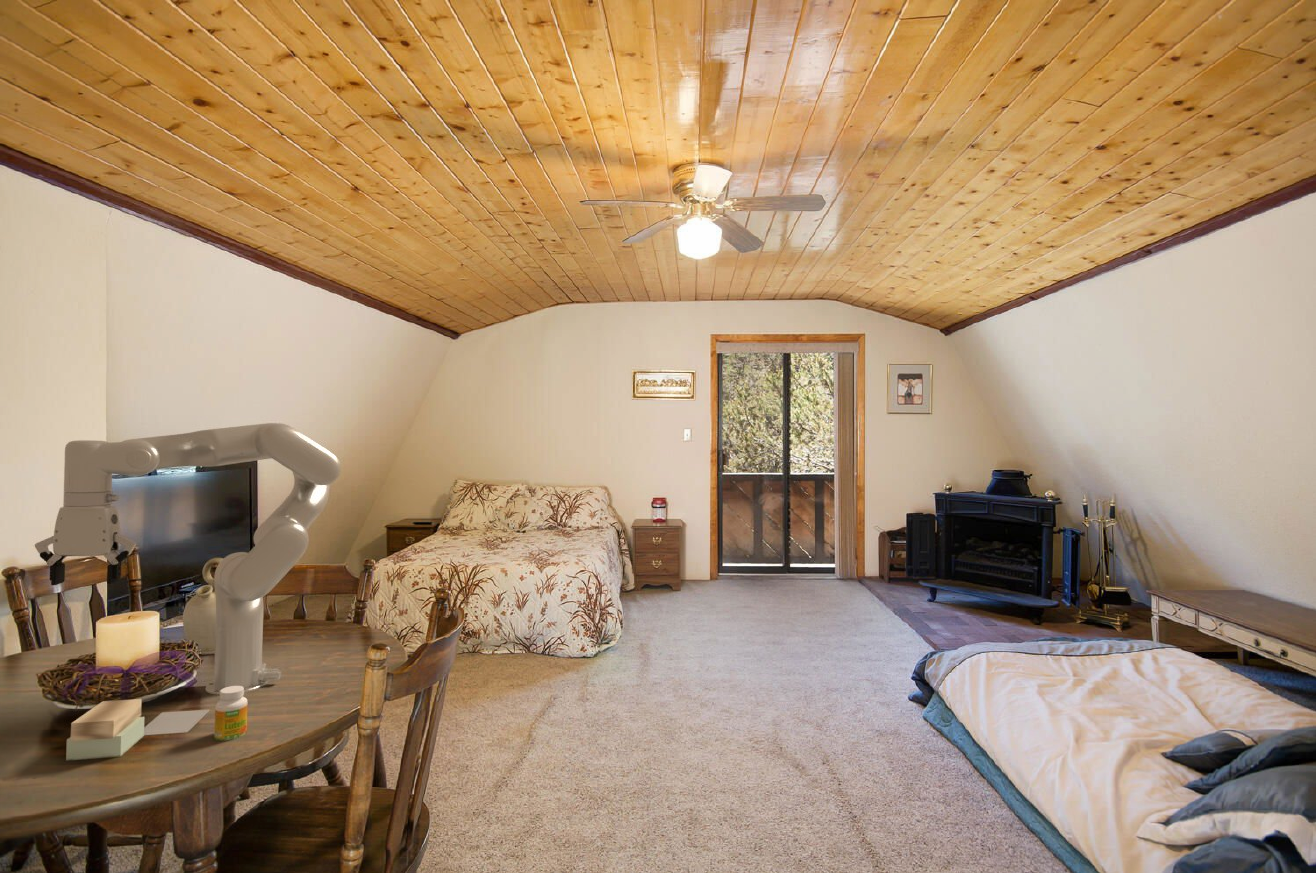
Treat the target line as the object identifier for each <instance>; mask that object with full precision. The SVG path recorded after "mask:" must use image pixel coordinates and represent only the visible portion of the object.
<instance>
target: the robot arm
mask: <svg viewBox="0 0 1316 873" xmlns="http://www.w3.org/2000/svg"><path fill="white" fill-rule="evenodd" d="M269 459H271V460H274V461H275V462H277V463H279V464H280V465H281V466H283V467H284V468H287V469H288V470H289V471H291V472H292V475H293V479H294V483H293V488H292V490H291V492H290V493H289V495H288V496H287V497H286V498H285V499H284V500H283V501H282V502H281V504H280V505H279V506H278V507H277V508H275V510H274V511H273V512H272V513H271V514H270V515H269V516H268V517H267V518H266V519H265V520H264V521H263V522H262V523H261V524H259V526H258V527H257V528H256V530H255V532H254V534H253V543H254V546H253V547H252V548H251V550H250V551H248V552H246V551H240V552H234V553H230V554H228V555H226V556H225V557H224V558H223V560H222V561H221V562H220V563H219V564H218V565H217V566H216V569H215V572H214V576H213V577H214V578H213V579H214V584H215V597H216V626H215V654H214V662H213V663H214V669H213V670H214V671H213V672H214V673H213V680H212V681H211V682H209V683H208V684H207V685H206V686H205V692H206V693H208V694H209V695H210V694H211V695H216V696H220V690H222V689H223V688H226V687H230V686H242V687H244V693H249V692H252V691H255V690H257V689H260V688H263V687H264V686H266V685H267V684H268V683H270V680H271V681H273V680H280V679H281V677H282V670H279V668H270V669H269V668H268V667H267V663H266V662H263V634H264V633H263V628H264V596H266V595H267V594H269V592H271V591H272V590H273V589H274V588H275V587H276V586H277V585H278V583H280V581H281V580H282V579H283V578H284V577H285V576H286V575H287V573H289V571H290V570H291V569H292V568H293V567H294V566H295V565H296V564H297V562H298V561H300V559H301V558H302V557H303V556H304V554H305V552H306V551H307V549H308V545H309V541H310V539H309V533H308V529H309V528H310V527H311V526H312V525H313V523H314V522H315V521H316V520H317V518H318V517H319V516H320V515H321V514H322V512H324V509H325V508H326V506H327V504H328V501H329V496H330V490H331V488H330V487H331V484H333V483H334V482H336V481H337V479H338V478H339V477H340V475H341V472H342V466H341V465H342V464H341V462H340V459H339V458H338V457H337V456H336V454H334V453H332V452H331V451H329V450H328V449H327V448H325V447H324V446H322V445H321V444H318V443H317V442H316V441H315V440H312V439H311V438H309V437H308V436H307V435H305V434H303V433H302V432H301V431H299V430H297V429H296V428H294V427H292V426H290V425H289V424H285V423H280V422H279V423H277V422H275V423H274V422H271V423H270V422H268V423H266V422H265V423H258V424H249V425H240V426H239V425H238V426H230V427H220V428H212V429H210V428H209V429H202V430H197V431H191V432H185V433H179V434H178V433H177V434H169V435H168V434H167V435H157V436H149V437H141V438H132V439H125V440H122V441H119V442H118V441H116V442H115V441H114V442H109V441H106V440H93V439H92V440H85V439H83V440H82V439H80V440H72V441H68V442H67V443H66V445H65V448H64V467H63V468H64V471H63V474H64V475H63V476H64V477H63V502H62V503H63V504H62V505H63V506H61V507H59V510H58V513H57V515H56V520H55V525H54V531H53V536H50V537H48V538H45V539H43V540H40V541H39V542H35V544H34V548H35V549H36V551H37V553H38V554H39V557H40V558H41V559H42V560H43V561H44V562H46V565H47V566H49V580H50V585H51V586H57V585H60V584H63V583H65V581H66V580H65V579H66V564H65V562H63V561H64V560H65V559H67V557H100V556H102V557H104V558H105V559H106V560H107V561H108V562H109V564H108V565H107V566H106V569H107V573H106V584H108V585H113V584H115V583H116V584H117V583H118V582H119V581H120V579H121V577H122V563H124V562H125V560H126V559H127V558H128V557H130V556H131V555H132V553H133V551H134V549H135V548H136V546H137V541H135V540H132V539H130V538H128V537H126V536H125V535H121V532H122V531H121V524H120V522H121V521H120V517H119V516H120V515H119V513H118V512H119V511H118V508H117V506H116V505H112V504H113V503H114V502H118V501H119V499H120V496H119V495H118V494H113V490H112V489H113V488H112V487H113V486H112V485H113V484H112V483H113V475H122V476H123V475H124V476H132V477H133V476H134V477H135V476H136V477H139V476H144V475H148V474H149V473H152V472H153V471H156V470H162V469H170V468H171V469H172V468H180V467H200V468H201V467H205V468H206V467H220V466H226V465H233V464H234V465H235V464H240V463H241V464H242V463H247V462H254V461H262V460H263V461H264V460H269ZM50 545H52V550H53V552H52V551H50V550H49V546H50ZM121 546H124V548H123V550H122V551H121V552H119V551H120V549H121Z"/></svg>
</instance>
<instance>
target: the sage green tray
mask: <svg viewBox="0 0 1316 873" xmlns="http://www.w3.org/2000/svg"><path fill="white" fill-rule="evenodd" d="M144 727H145V716H140V717H138V718H137V719H136V720H135V721H134V722H132V723H131V724H130V725H129V726H127V727H126V728H125V729H124V730H123V731H121V732H120V733H119V734H118V735H116V736H115V737H114V738H108V739H94V740H80V741H71V736H70V737H68V738H67V739H66V747H65V748H66V750H65V751H66V753H65V755H66V756H65V760H66V761H77V760H79V761H81V760H89V759H90V760H92V759H106V758H117V757H120V758H121V757H122V756H123V755H124V754H125V753H126V752H127V751H129V749H131V748H132V747H133V746H135V745H136V744H137V743H138V742H139V741H140V740H141V739H143V738H144V737H145V735H144Z"/></svg>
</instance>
